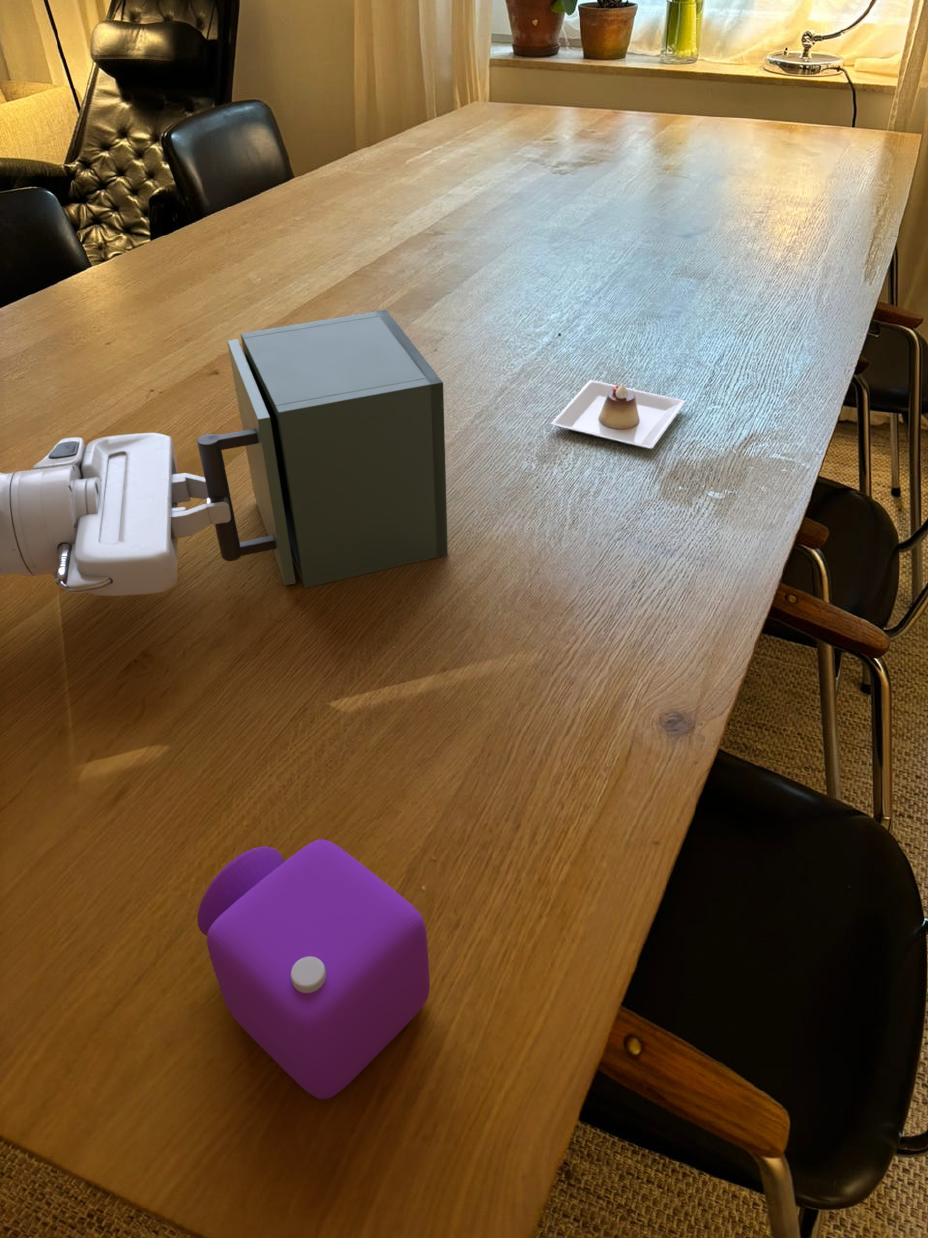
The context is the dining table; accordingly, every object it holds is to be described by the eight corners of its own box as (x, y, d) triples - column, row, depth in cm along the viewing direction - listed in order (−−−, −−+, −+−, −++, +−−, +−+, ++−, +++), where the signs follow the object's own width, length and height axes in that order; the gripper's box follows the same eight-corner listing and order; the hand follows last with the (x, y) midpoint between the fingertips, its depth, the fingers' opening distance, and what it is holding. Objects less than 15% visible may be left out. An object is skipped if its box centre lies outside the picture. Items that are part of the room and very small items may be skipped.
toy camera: (279, 880, 67) (258, 783, 60) (453, 974, 61) (449, 879, 55) (166, 1011, 60) (128, 917, 53) (350, 1131, 54) (332, 1042, 48)
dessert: (589, 387, 120) (592, 350, 117) (685, 409, 116) (691, 371, 113) (549, 432, 112) (551, 394, 109) (651, 457, 108) (656, 418, 104)
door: (231, 597, 89) (195, 430, 78) (206, 506, 100) (172, 348, 89) (295, 583, 91) (270, 417, 80) (264, 494, 102) (237, 338, 91)
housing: (304, 588, 91) (278, 412, 79) (267, 498, 102) (240, 332, 91) (448, 554, 95) (443, 381, 83) (397, 471, 106) (386, 309, 94)
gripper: (39, 561, 74) (227, 536, 76) (64, 428, 89) (219, 411, 92) (62, 625, 78) (240, 600, 80) (82, 487, 94) (231, 469, 96)
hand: (229, 498), depth 86 cm, fingers closed on door, 2 cm apart
